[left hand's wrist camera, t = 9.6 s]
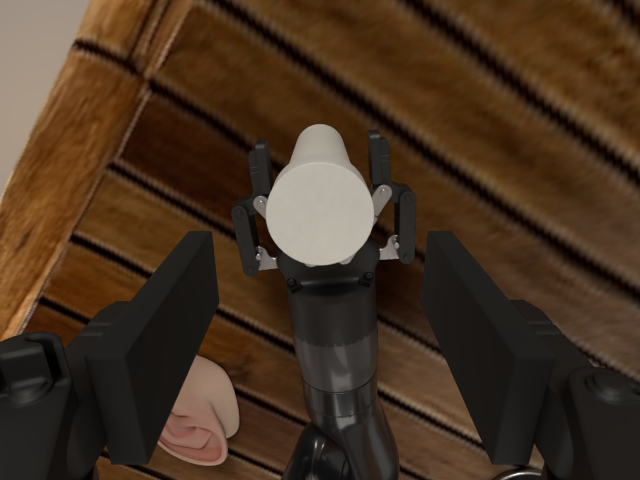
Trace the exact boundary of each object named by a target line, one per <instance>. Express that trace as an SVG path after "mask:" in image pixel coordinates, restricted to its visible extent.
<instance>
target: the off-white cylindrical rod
mask: <svg viewBox="0 0 640 480" xmlns="http://www.w3.org/2000/svg"><path fill="white" fill-rule="evenodd" d="M317 153H324V154H331V155H334V156H338V157H340V158H342V159H344V160H346V161H347V162H349V163H350V161H349V158H348V155H347V152H346V149H345V146H344V143H343V140H342V138H341V136H340V134H339V133H338V132H337V131H336V130H335V129H334V128H332V127H330V126H328V125H324V124H316V125H312V126H310V127H308V128H306V129H305V130H304V131H303V132H302V133H301V134H300V136H299V138H298V140H297V143H296V146H295V149H294V152H293V155H292V157H291V160H290V163H291V162H292V161H294V160H296V159H298V158H300V157H303V156H305V155H309V154H317ZM290 163H289V164H290ZM350 164H351V163H350Z"/></svg>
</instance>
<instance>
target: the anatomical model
mask: <svg viewBox="0 0 640 480" xmlns="http://www.w3.org/2000/svg"><path fill="white" fill-rule="evenodd" d="M238 428H239V411H238V404H237V400H236V396H235V392H234V389H233V386H232V383H231V381H230V379H229V377H228V375H227V374H226V372H225V371H224V370H223V369H222V368H221V367H220V366H218V365H217V364H215V363H214V362H212V361H210V360H208V359H206V358H203V357H201V356H198V355H196V357H195V359H194V361H193V363H192V366H191V368H190V370H189V373H188V375H187V377H186V379H185V382H184V384H183V386H182V388H181V391H180V393H179V395H178V397H177V400H176V402H175V404H174V407H173V409H172V411H171V413H170V416H169V418H168V420H167V422H166V425H165V427H164V429H163V431H162V434H161V436H160V438H159V440H158V444H159V445H160V446H161V447H162V448H163V449H164V450H166V451H167V452H169V453H170V454H172V455H174V456H176V457H178V458H180V459H182V460H184V461H187V462H190V463H194V464H198V465H208V466H211V465H218V464H221V463H222V462H223V461H224V460H225V459H226V457H227V453H228V444H227V439H226V438H229V437H231V436H232V435H234V434H235V433H236V432H237V430H238Z"/></svg>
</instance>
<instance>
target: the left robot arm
mask: <svg viewBox="0 0 640 480" xmlns="http://www.w3.org/2000/svg"><path fill="white" fill-rule="evenodd" d="M218 305H219V295H218V286H217V276H216V266H215V257H214V247H213V238H212V231H189V232H188V233H187V234H186V235H185V236H184V238H183V239H182V240H181V241H180V242H179V244H178V245H177V246H176V247H175V248H174V250H173V251H172V252H171V253H170V254H169V256H168V257H167V258H166V259H165V260H164V261H163V263H162V264H161V265H160V266H159V267H158V269H157V270H156V271H155V272H154V273H153V275H152V276H151V277H150V278H149V279H148V281H147V282H146V283H145V284H144V285H143V287H142V288H141V289H140V290H139V291H138V292H137V294H136V295H135V296H134V297H133V298H132V300H131V301H116V302H114V303H113V304H111V305H109V306H108V307H106V308H104V309H103V310H101V311H99V312H98V313H97V314H96V316H95V317H94V318H93V319H92V320H91V321H90V322H89V323H88V326H85V327H84V328H83V329H82V331H81V332H80V333H79V335H78V336H76V337H75V338H74V339H73V340H72V341H71V342H70V343H69V344H68V346H67V347H66V348H65V349H64V347H63V343H62V340H61V337H59V336H58V335H56V334H55V333H50V332H44V331H42V332H31V333H25V334H22V335H18V336H14V337H11V338H8V339H6V340H4V341H1V342H0V480H99V475H98V469H97V466H96V461H97V459H98V458H99V456H100V454H101V453H102V451H103V449H104V447H105V446H106V445H107V449H108V453H109V457H110V461H111V465H148V463H149V461H150V459H151V456H152V454H153V452H154V450H155V447H156V445H157V443H158V440H159V438H160V436H161V434H162V431H163V429H164V427H165V425H166V422H167V420H168V418H169V416H170V413H171V411H172V409H173V407H174V404H175V402H176V400H177V397H178V395H179V393H180V391H181V388H182V386H183V384H184V382H185V379H186V377H187V375H188V373H189V370H190V368H191V366H192V363H193V361H194V359H195V357H196V354H197V352H198V350H199V348H200V345H201V343H202V341H203V339H204V336H205V334H206V332H207V330H208V327H209V325H210V323H211V320H212V318H213V316H214V314H215V311H216V309H217V307H218ZM421 305H422V307H423V309H424V311H425V314H426V316H427V318H428V320H429V323H430V325H431V327H432V330H433V332H434V334H435V336H436V339H437V341H438V343H439V345H440V348H441V350H442V352H443V354H444V357H445V359H446V361H447V363H448V366H449V368H450V370H451V373H452V375H453V377H454V379H455V382H456V384H457V386H458V388H459V391H460V393H461V395H462V397H463V400H464V402H465V404H466V407H467V409H468V411H469V413H470V416H471V418H472V420H473V422H474V425H475V427H476V429H477V431H478V434H479V436H480V438H481V440H482V443H483V445H484V447H485V450H486V452H487V454H488V456H489V459H490V461H491V463H492V465H529V461H530V457H531V453H532V449H533V445H534V443H535V445H536V447H537V449H538V450H539V452H540V454H541V455H542V457H543V459H544V461H545V462H544V466H543V469H542V473H541V477H540V480H640V385H638V384H637V383H636V382H634V381H633V380H632V379H630V378H628V377H626V376H624V375H622V374H619V373H617V372H615V371H611V370H608V369H605V368H601V367H594V366H593V365H592V364H591V363H590V362H589V361H588V359H587V358H586V357H585V356H584V355H583V354H582V353H581V352H580V351H579V350H578V349H577V348H576V347H575V346H574V345H573V344H572V342H571V341H570V340H569V339H568V338H567V337H566V336H565V335H562V332H561V331H560V330H559V329H558V328H557V327H556V325H553V324H552V321H551V320H550V319H549V318H548V317H547V316H546V315H545V314H544V313H543V312H542V311H541V310H540V309H538V308H537V307H535V306H533V305H531V304H530V303H528V302H526V301H525V300H508V298H507V297H506V296H505V295H504V294H503V292H502V291H501V290H500V289H499V288H498V287H497V285H496V284H495V283H494V282H493V281H492V279H491V278H490V277H489V276H488V275H487V273H486V272H485V271H484V270H483V269H482V267H481V266H480V265H479V264H478V263H477V261H476V260H475V259H474V258H473V257H472V256H471V254H470V253H469V252H468V251H467V250H466V248H465V247H464V246H463V245H462V244H461V242H460V241H459V240H458V239H457V238H456V236H455V235H454V234H453V233H452V232H451V231H428V238H427V247H426V257H425V266H424V276H423V286H422V295H421Z"/></svg>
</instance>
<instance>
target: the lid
mask: <svg viewBox="0 0 640 480" xmlns="http://www.w3.org/2000/svg"><path fill="white" fill-rule="evenodd" d="M266 222H267V226H268V230H269V232H270V235H271V237H272V238H273V240H274V242H275V243H276V244H277V246H278V247H279V248H280V249H281V250H282V251H283V252H284V253H286V254H287V255H288V256H290V257H291V258H293V259H295V260H297V261H300V262H302V263H306V264H311V265H329V264H334V263H337V262H340V261H343V260H345V259H347V258H349V257H350V256H352V255H353V254H354V253H356V252H357V251H358V250H359V249H360V248H361V247H362V246H363V244H364V243H365V242H366V240H367V238H368V237H369V235H370V232H371V230H372V226H373V222H374V206H373V201H372V198H371V195H370V193H369V190H368V188H367V185H366V183H365V181H364V179H363V177H362V176H361V174H360V173H359V171H358V170H357V169H356V168H355V167H354V166H353V165H352V164H350V163H349V162H347V161H346V160H344V159H342V158H340V157H338V156H334V155H331V154H324V153H317V154H309V155H305V156H303V157H300V158H298V159H296V160H294V161H292V162H291V163H290V164H288V165H287V166H286V167H285V168H284V169H283V170H282V171H281V173H280V174H279V176H278V177H277V179H276V181H275V183H274V186H273V188H272V190H271V193H270V195H269V197H268V201H267V206H266Z"/></svg>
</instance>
